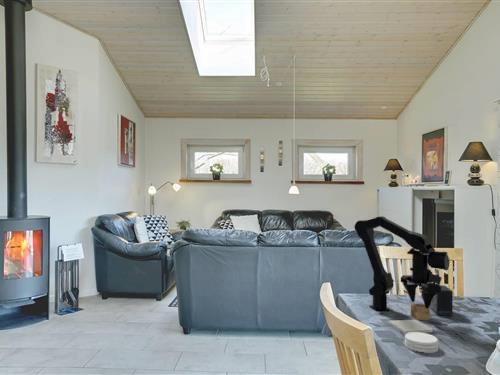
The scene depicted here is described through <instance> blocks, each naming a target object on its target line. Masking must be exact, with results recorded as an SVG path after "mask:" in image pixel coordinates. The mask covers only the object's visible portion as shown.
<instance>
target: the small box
mask: <svg viewBox="0 0 500 375" xmlns="http://www.w3.org/2000/svg"><path fill="white" fill-rule="evenodd" d="M440 286H441V292H439V294H436V295H434V297H433V299H432V301H431V304H430V306H429V307H430V310H431V311H433V313H434V314H435V315H436V316H447V317H452V316H453V300H454V298H453V297H454V294H453V293H454V292H453V290H451V288H449V287H448V286H446V285H440Z"/></svg>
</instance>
